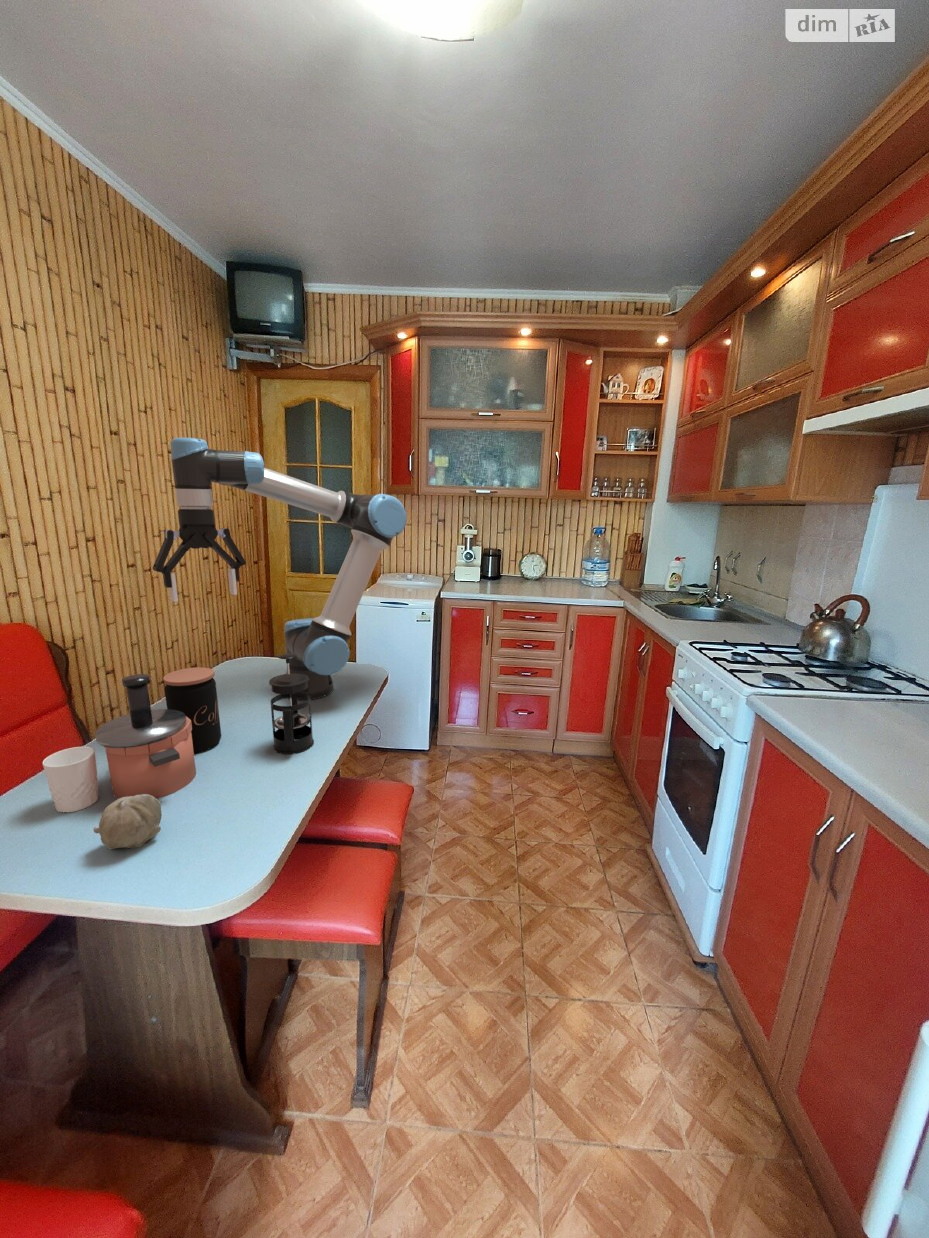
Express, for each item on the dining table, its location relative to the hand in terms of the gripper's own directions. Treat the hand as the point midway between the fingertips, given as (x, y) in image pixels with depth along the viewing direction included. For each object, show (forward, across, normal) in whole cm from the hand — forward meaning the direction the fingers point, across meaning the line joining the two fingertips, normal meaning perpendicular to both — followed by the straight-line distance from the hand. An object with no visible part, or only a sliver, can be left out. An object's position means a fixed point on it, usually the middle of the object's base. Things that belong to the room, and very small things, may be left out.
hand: (205, 597), depth 122 cm
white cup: (+35, +32, +14) cm, 49 cm away
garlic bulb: (+35, +28, +35) cm, 57 cm away
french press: (+35, -9, +22) cm, 42 cm away
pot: (+35, +19, +16) cm, 43 cm away
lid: (+24, +20, +16) cm, 35 cm away
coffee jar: (+35, +7, +5) cm, 36 cm away
